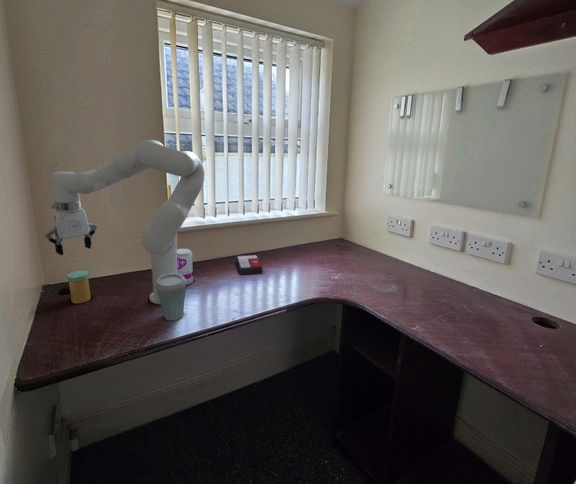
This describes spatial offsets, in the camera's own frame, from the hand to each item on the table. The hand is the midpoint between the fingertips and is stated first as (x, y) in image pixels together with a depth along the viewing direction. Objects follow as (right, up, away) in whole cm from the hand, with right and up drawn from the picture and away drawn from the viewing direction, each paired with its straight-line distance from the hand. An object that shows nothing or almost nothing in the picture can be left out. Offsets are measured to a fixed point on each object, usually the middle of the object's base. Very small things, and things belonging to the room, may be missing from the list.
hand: (74, 250), depth 119 cm
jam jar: (-1, -19, +5) cm, 20 cm away
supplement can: (+33, -16, +23) cm, 44 cm away
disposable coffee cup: (+38, -24, -4) cm, 45 cm away
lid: (0, -9, +2) cm, 10 cm away
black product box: (+60, -13, +43) cm, 75 cm away
